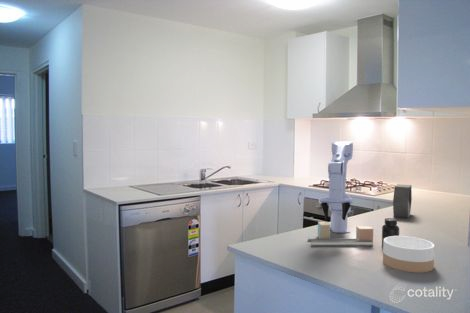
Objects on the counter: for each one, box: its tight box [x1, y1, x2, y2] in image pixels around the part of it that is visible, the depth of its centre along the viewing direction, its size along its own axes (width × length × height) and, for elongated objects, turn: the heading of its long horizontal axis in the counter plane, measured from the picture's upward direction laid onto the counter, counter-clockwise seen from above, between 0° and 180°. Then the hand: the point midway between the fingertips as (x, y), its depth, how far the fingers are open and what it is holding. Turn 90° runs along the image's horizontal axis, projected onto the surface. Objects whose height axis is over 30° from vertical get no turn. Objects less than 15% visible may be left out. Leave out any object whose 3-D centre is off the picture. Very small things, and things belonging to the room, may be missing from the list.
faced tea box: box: [355, 225, 374, 242], centre depth 165 cm, size 4×6×7 cm
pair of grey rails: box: [307, 238, 374, 247], centre depth 165 cm, size 8×26×2 cm, turn 91°
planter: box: [392, 184, 413, 219], centre depth 218 cm, size 17×8×21 cm
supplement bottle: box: [381, 217, 400, 248], centre depth 159 cm, size 7×7×12 cm
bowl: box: [382, 235, 436, 273], centre depth 140 cm, size 17×17×8 cm
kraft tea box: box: [317, 221, 331, 239], centre depth 172 cm, size 4×6×7 cm
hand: (335, 219), depth 167 cm, fingers open, 7 cm apart
